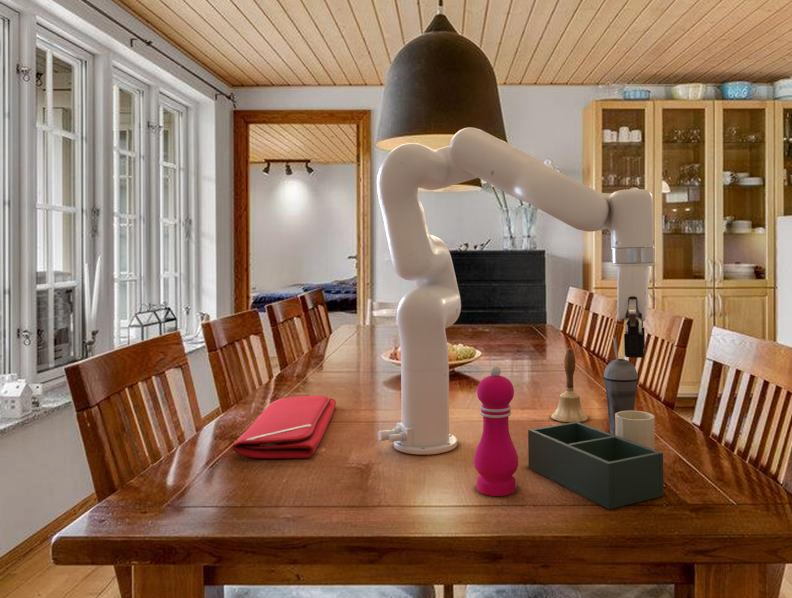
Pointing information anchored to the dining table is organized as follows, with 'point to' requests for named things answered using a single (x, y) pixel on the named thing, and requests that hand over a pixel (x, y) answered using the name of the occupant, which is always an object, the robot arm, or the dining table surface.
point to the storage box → (596, 464)
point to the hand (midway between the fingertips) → (635, 352)
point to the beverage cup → (619, 387)
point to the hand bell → (569, 396)
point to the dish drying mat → (287, 428)
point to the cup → (636, 427)
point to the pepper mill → (495, 437)
